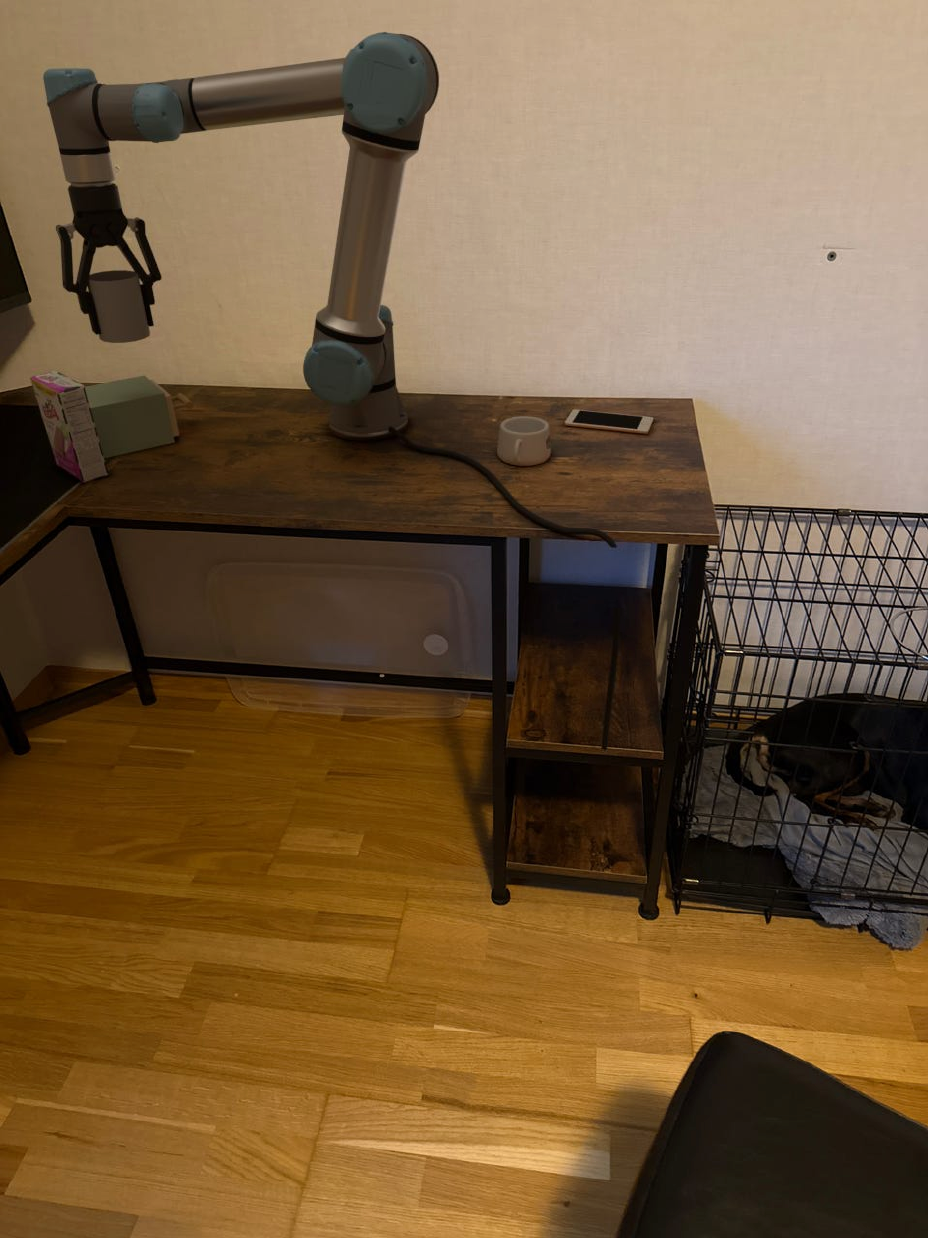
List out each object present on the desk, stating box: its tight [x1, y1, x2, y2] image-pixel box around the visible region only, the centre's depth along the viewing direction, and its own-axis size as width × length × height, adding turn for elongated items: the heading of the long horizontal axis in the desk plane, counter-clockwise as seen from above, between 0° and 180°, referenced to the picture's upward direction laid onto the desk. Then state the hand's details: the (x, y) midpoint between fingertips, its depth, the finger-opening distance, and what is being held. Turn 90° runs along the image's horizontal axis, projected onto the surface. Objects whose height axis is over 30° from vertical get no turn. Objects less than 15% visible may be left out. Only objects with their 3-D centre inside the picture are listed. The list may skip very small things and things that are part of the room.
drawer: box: [149, 379, 194, 438], centre depth 164 cm, size 18×11×8 cm, turn 124°
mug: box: [496, 415, 552, 467], centre depth 152 cm, size 12×10×6 cm
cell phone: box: [564, 408, 654, 435], centre depth 168 cm, size 8×16×1 cm, turn 71°
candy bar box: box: [29, 370, 109, 484], centre depth 148 cm, size 11×5×16 cm, turn 45°
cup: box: [87, 269, 151, 344], centre depth 148 cm, size 8×8×10 cm
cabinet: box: [85, 375, 176, 459], centre depth 162 cm, size 15×13×10 cm
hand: (123, 328), depth 150 cm, fingers closed on cup, 8 cm apart
